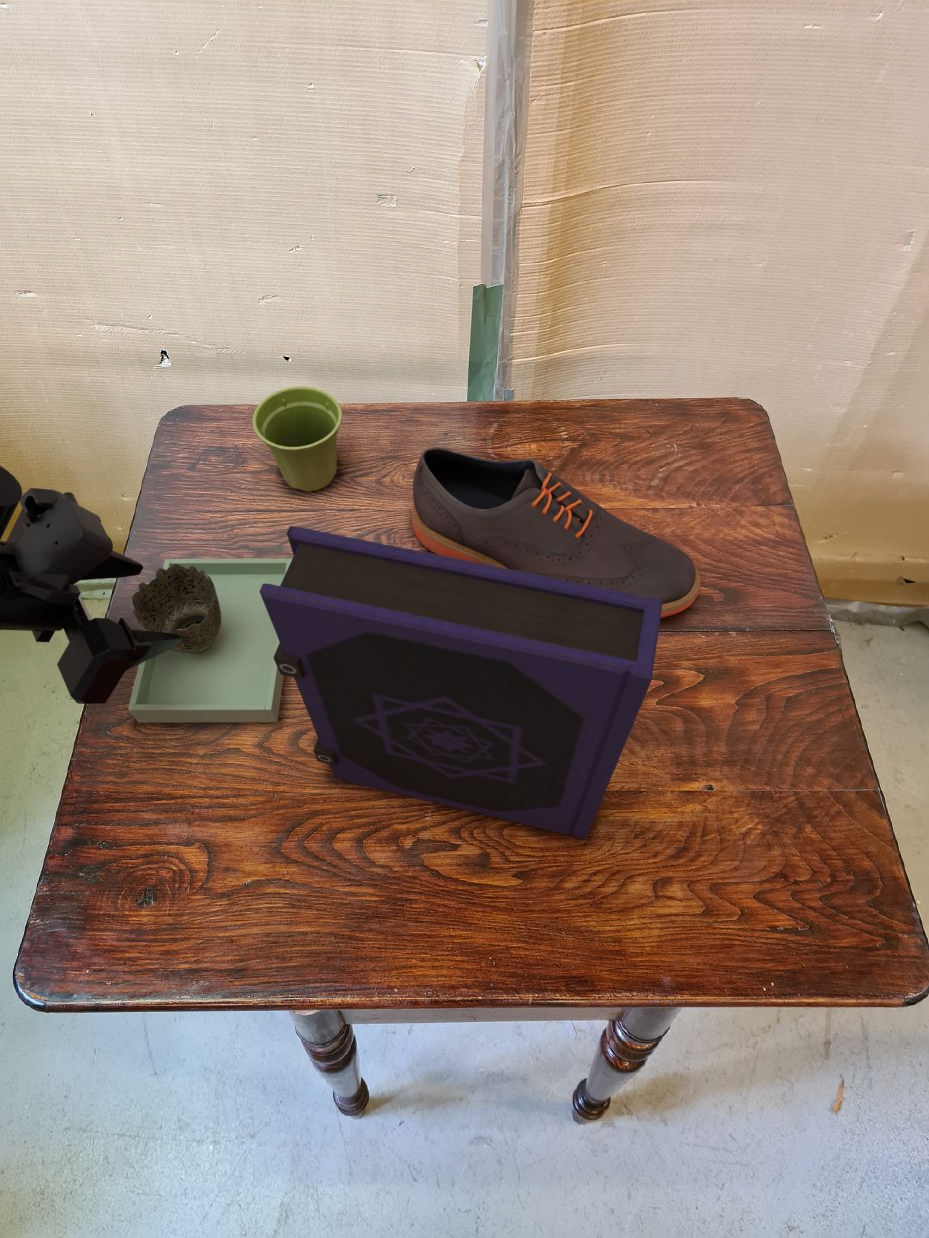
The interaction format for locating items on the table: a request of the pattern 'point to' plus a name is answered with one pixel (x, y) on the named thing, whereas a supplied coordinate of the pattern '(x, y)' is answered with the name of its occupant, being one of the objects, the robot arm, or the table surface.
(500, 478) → the oxford shoe
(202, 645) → the ornate lamp shade
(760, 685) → the table surface
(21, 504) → the robot arm
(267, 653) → the tray
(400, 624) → the book
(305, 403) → the plant pot
